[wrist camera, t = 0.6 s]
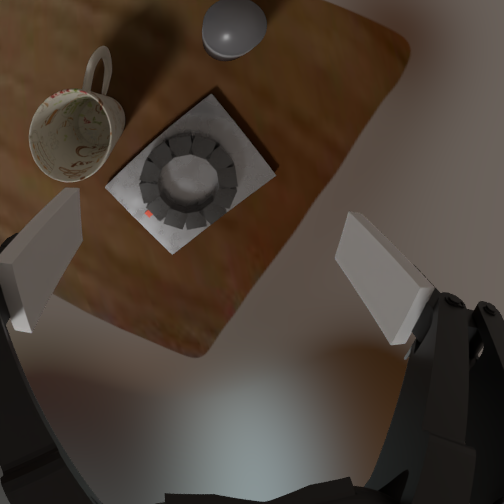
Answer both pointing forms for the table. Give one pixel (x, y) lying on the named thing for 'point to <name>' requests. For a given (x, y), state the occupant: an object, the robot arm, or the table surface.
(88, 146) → the mug
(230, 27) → the lens
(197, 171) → the mount
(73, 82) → the table surface
